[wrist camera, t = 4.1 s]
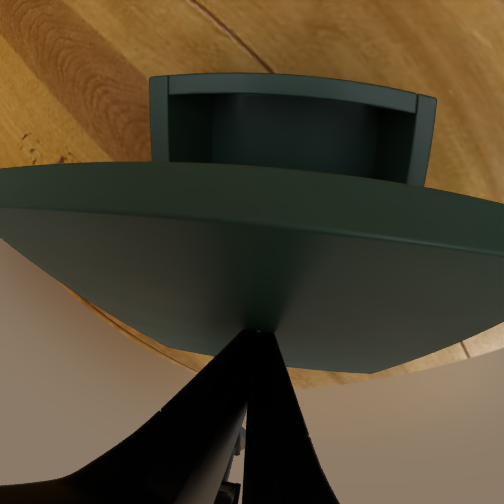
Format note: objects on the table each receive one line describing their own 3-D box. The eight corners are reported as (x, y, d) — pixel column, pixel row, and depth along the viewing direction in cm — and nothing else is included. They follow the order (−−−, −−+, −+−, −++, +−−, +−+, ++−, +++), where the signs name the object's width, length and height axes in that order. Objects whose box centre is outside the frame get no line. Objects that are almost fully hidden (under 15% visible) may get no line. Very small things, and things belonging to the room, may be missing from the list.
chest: (203, 78, 16) (148, 77, 10) (392, 93, 15) (437, 98, 9) (206, 268, 22) (171, 334, 17) (360, 285, 21) (372, 359, 15)
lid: (-21, 169, 4) (-40, 205, 4) (581, 224, 3) (592, 270, 3) (170, 332, 16) (167, 347, 16) (373, 358, 15) (372, 373, 15)
